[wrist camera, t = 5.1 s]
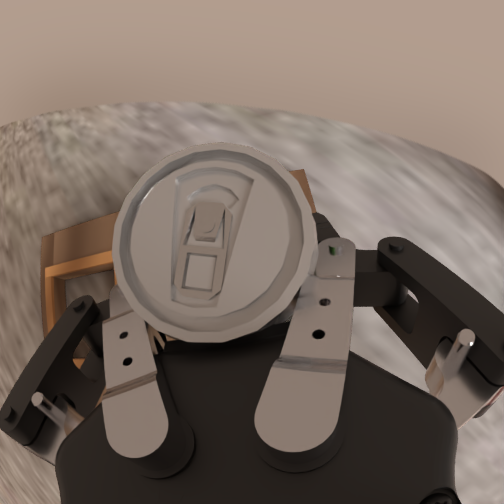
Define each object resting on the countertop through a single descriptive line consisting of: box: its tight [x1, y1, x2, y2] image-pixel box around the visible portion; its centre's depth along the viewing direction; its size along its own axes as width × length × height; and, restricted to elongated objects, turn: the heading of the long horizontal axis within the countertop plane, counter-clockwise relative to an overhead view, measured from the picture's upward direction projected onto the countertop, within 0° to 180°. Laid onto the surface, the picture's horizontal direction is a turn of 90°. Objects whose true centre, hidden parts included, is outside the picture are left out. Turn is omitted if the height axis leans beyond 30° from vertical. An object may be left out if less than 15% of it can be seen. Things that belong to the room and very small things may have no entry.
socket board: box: [41, 169, 316, 408], centre depth 17 cm, size 22×14×2 cm, turn 100°
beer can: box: [112, 142, 319, 343], centre depth 12 cm, size 5×5×12 cm
